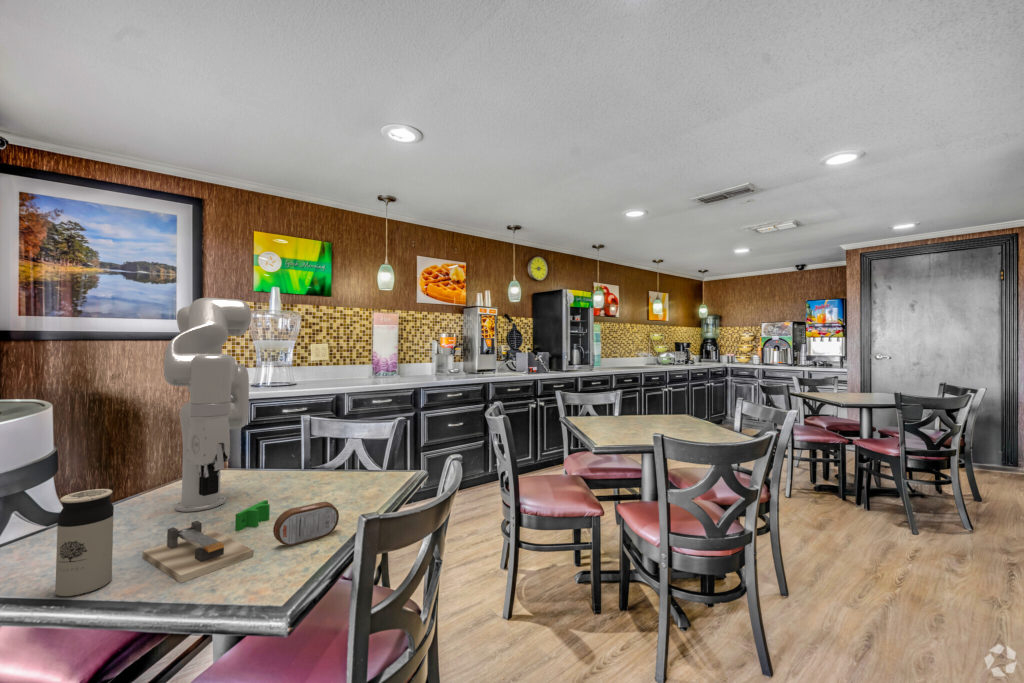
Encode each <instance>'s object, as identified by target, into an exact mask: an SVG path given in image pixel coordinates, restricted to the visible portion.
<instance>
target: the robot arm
mask: <svg viewBox="0 0 1024 683" xmlns="http://www.w3.org/2000/svg"><path fill="white" fill-rule="evenodd" d="M176 323H177V327H178V330H179V334H177V335H176V336H175V337H173V338H172V339H171V340H170V341H169V342H168V344H167V345H166V349H165V352H164V361H163V376H164V379H165V382H166V383H168V384H169V385H171V386H173V387H187V390H188V392H189V402H186V403H185V404H183V405H182V406H181V408H180V410H179V411H180V412H179V419H180V426H181V433H182V434H181V436H182V472H181V473H182V474H181V475H182V476H181V480H182V481H181V500H180V501H178V502H177V503H175V505H174V510H176V511H178V512H182V513H183V512H184V513H185V512H190V513H191V512H199V511H200V512H201V511H205V510H210V509H213V508H216V507H217V508H218V507H219V505H220V506H222V505H223V504H225V503H226V501H227V497H226V496H225V495H223V494H221V472H222V470H224V469H225V464H224V463H226V462H228V460H229V459H230V456H231V455H230V454H231V436H230V434H231V433H230V431H231V430H236V429H237V430H238V429H241V428H243V427H245V426H247V424H248V421H249V413H250V412H249V410H250V409H249V408H250V407H249V406H250V402H249V400H250V399H249V397H250V396H249V394H250V393H249V392H250V378H249V372H248V369H247V367H246V366H244V365H243V364H240V363H238V361H237V360H236V358H235V356H234V357H233V356H232V355H231V354H227V353H222V348H221V347H222V346H224V345H225V344H226V342H227V341H228V338H229V337H240V336H243V335H245V334H246V332H247V331H248V329H249V328H250V326H251V324H252V310H251V308H250V305H249V304H248V303H247V302H246V301H245V300H242V299H235V298H220V297H201V298H198V299H195V300H194V301H193V302H191V304H190V305H189V306H184V307H181V308H180V309H179V310H178V311H177V314H176ZM221 504H222V505H221Z"/></svg>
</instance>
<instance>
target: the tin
mask: <svg viewBox="0 0 1024 683" xmlns="http://www.w3.org/2000/svg"><path fill="white" fill-rule="evenodd" d="M339 514H340V513H339V510H338V509H337V508H336V507H335V506H334V504H333V503H331V502H328V501H321V502H320V501H319V502H316V503H311V504H307V505H302V506H301V505H300V506H297V507H292V508H289V509H287V510H284V512H282V513H281V514H280V515H279V516H278V517H277V519H275V522H274V525H273V527H272V529H273V530H272V532H273V537H274V538H275V540H276V541H278V542H279V543H280V544H282V545H284V546H286V547H287V546H289V547H292V546H295V545H300V544H303V542H304V543H307V542H311V541H314V540H318V539H321V538H325V537H326V536H329V535H330V534H331V533H333V532H334V531H335V529H336V528H337V526H338V523H339V519H340V515H339Z"/></svg>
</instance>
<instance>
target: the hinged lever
mask: <svg viewBox="0 0 1024 683" xmlns="http://www.w3.org/2000/svg"><path fill="white" fill-rule="evenodd" d="M203 533H204V532H202V531H201V532H199V531H197V530H194V529H193V528H192V527H191V526H190V527H188V528H187V527H186V528H183V529H180V530H178V538H180V539H184V540H185V541H187V542H189V543H191V544H193V545H195V546H197V547H199V548H201V549H203V550H204V551H206V552H208V553H209V552H212V551H215V550H218V549H221V548H224V544H223V543H221V542H219V541H217V540H215V539H213V538H211V537H209V536H207V535H205V534H203Z"/></svg>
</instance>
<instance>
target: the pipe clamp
mask: <svg viewBox="0 0 1024 683" xmlns="http://www.w3.org/2000/svg"><path fill="white" fill-rule="evenodd" d="M270 505H271V504H270V503H269V501H268V499H264V500H262V501H260V502H258V503H255V504H254V505H252V506H250V507H247V508H246V509H245V508H244V509H243V510H241V511H239V512H237V513H235V518H234V519H235V521H234V522H235V524H234V525H235V527H234V528H235V530H234V531H235V532H240V530H241V531H243V530H244V529H246V528H258V527H259V523H261V521H262V522H269V521H270Z"/></svg>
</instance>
